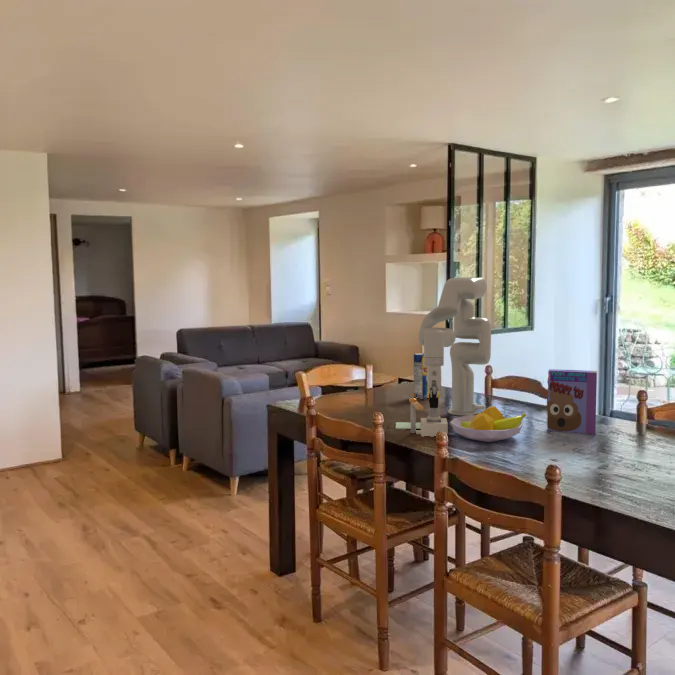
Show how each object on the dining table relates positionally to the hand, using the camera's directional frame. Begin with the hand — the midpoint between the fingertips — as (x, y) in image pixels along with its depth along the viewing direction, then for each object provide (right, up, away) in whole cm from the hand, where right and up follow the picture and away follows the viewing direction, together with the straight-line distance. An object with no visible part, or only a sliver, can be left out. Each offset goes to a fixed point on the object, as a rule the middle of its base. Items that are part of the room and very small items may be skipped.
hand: (433, 405), depth 251 cm
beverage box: (+8, -4, +76) cm, 76 cm away
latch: (-7, 0, -4) cm, 8 cm away
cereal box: (+54, -10, +2) cm, 55 cm away
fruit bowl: (+20, -12, -7) cm, 24 cm away
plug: (0, -11, +1) cm, 11 cm away
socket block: (-2, -11, +2) cm, 11 cm away
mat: (-8, -10, +13) cm, 19 cm away
